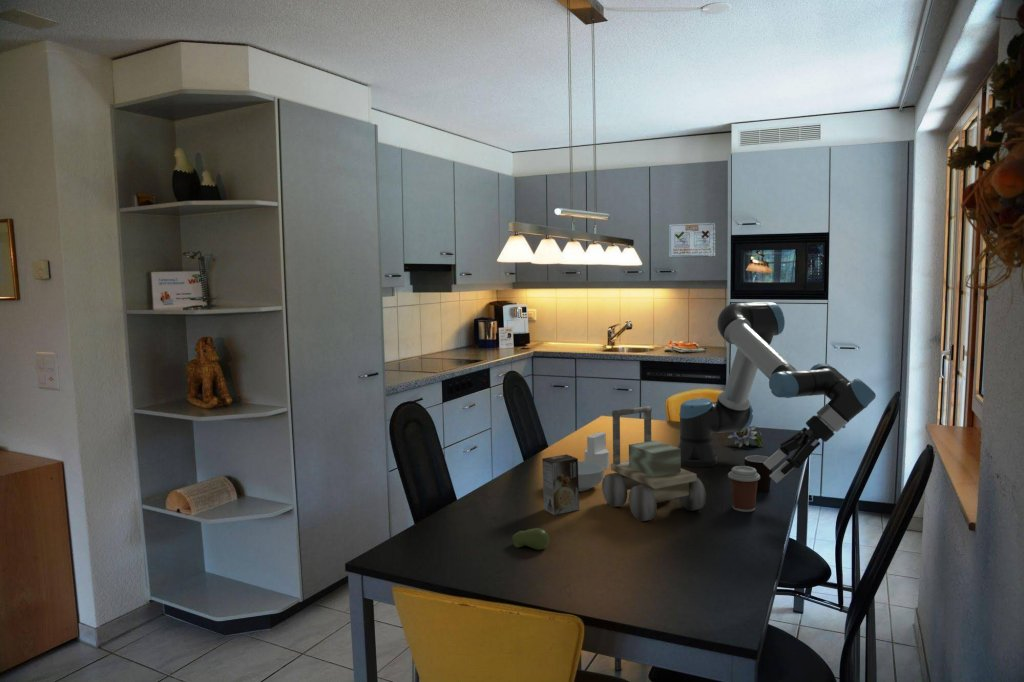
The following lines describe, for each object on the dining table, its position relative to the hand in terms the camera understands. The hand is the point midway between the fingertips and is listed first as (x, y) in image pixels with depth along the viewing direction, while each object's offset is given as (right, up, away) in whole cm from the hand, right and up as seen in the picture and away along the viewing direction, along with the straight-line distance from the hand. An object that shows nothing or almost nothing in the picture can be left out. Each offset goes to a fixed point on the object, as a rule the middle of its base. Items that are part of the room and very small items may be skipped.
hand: (769, 472), depth 197 cm
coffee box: (-61, -13, +6) cm, 62 cm away
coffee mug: (+5, -9, +23) cm, 25 cm away
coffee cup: (-6, -11, +4) cm, 14 cm away
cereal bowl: (-54, -11, +27) cm, 61 cm away
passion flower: (+20, -4, +77) cm, 80 cm away
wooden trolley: (-33, -12, +6) cm, 36 cm away
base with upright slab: (-44, -8, +52) cm, 69 cm away
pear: (-71, -16, -21) cm, 76 cm away
